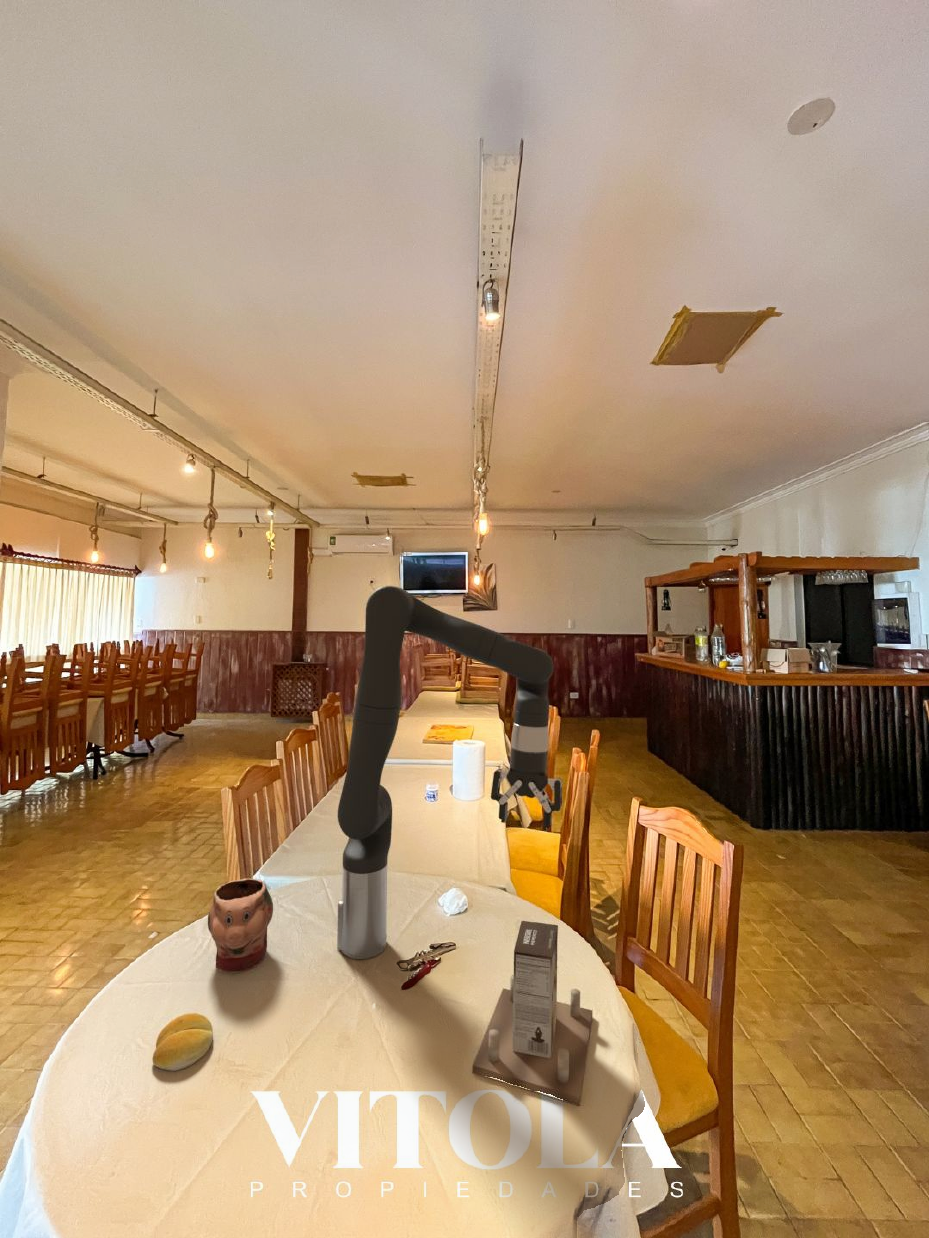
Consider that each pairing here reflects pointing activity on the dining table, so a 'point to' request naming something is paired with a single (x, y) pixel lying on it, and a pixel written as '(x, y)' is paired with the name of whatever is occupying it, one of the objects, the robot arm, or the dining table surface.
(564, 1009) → the standoff plate
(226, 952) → the decorative planter
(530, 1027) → the coffee box
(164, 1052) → the bread roll
